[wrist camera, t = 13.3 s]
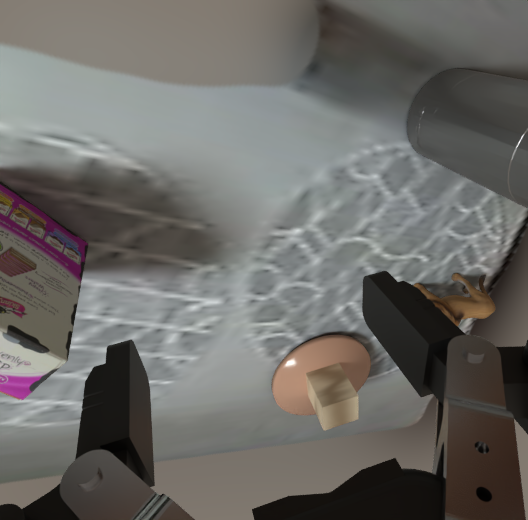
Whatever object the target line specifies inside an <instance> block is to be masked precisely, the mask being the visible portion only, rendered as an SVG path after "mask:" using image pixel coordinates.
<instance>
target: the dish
mask: <svg viewBox="0 0 528 520" xmlns="http://www.w3.org/2000/svg"><path fill="white" fill-rule="evenodd" d="M336 363H339V364H340V365H341V367H342V369H343V371H344V372H345V374H346V376H347V377H348V379H349V381H350V382H351V384H352V386H353V388H354V389H355V391H356V393H357V392H358V390H359V389H360V388H361V387H362V386H363V384H364V383H365V381H366V379H367V377H368V375H369V372H370V368H371V360H370V356H369V354H368V352H367V350H366V349H365V347H364V346H363V345H362V343H360V342H359V341H358V340H356V339H355V338H352V337H350V336H345V335H327V336H322V337H318V338H315V339H312V340H310V341H308V342H306V343H304V344H302V345H300V346H299V347H297V348H296V349H294V350H293V351H292V352H290V353H289V354H288V355H287V356H286V357H285V358H284V359H283V360H282V362H281V363H280V364H279V366H278V367H277V369H276V371H275V373H274V375H273V379H272V392H273V395H274V398H275V400H276V402H277V404H278V405H279V406H280V407H281V408H282V409H283V410H285V411H287V412H289V413H292V414H296V415H314V414H316V412H315V410H314V408H313V405H312V403H311V401H310V399H309V397H308V390H307V380H306V373H308V372H311V371H314V370H317V369H320V368H323V367H327V366H330V365H333V364H336Z"/></svg>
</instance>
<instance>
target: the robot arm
mask: <svg viewBox="0 0 528 520" xmlns="http://www.w3.org/2000/svg"><path fill="white" fill-rule="evenodd" d="M407 134H408V138H409V141H410V143H411V145H412V147H413V148H414V149H415V151H416V152H417V153H419V154H421V155H422V156H424V157H426V158H428V159H430V160H432V161H434V162H436V163H438V164H440V165H442V166H444V167H446V168H448V169H450V170H452V171H454V172H456V173H458V174H460V175H462V176H464V177H466V178H468V179H470V180H472V181H474V182H476V183H478V184H480V185H482V186H484V187H486V188H488V189H490V190H492V191H494V192H496V193H498V194H500V195H502V196H504V197H506V198H508V199H510V200H512V201H514V202H516V203H518V204H520V205H522V206H524V207H526V208H528V81H527V80H522V79H516V78H511V77H505V76H500V75H494V74H490V73H484V72H478V71H473V70H467V69H459V68H455V69H449V70H446V71H444V72H441V73H439V74H438V75H436V76H435V77H433V78H432V79H430V80H429V81H428V82H427V83H426V84H425V85H424V86H423V88H422V89H421V90H420V92H419V93H418V94H417V96H416V98H415V100H414V102H413V103H412V106H411V109H410V112H409V115H408V121H407ZM362 310H363V316H364V319H365V322H366V324H367V326H368V327H369V328H370V330H371V331H372V333H373V334H374V335H375V337H376V338H377V339H378V341H379V342H380V343H381V345H382V346H383V347H384V349H385V350H386V351H387V353H388V354H389V355H390V357H391V358H392V359H393V361H394V362H395V363H396V365H397V366H398V367H399V369H400V370H401V371H402V373H403V374H404V375H405V377H406V378H407V379H408V381H409V382H410V383H411V385H412V386H413V387H414V389H415V390H416V391H417V393H418V394H419V395H420V397H424V396H427V395H430V394H434V395H435V396H436V398H437V399H438V402H437V411H436V431H435V448H434V461H433V469H432V473H430V472H426V471H422V470H416V469H401V467H400V465H399V464H398V462H397V460H396V459H395V458H393V459H391V460H388V461H385V462H382V463H380V464H377V465H374V466H372V467H368V468H366V469H363V470H361V471H359V472H358V473H357V474H355V475H354V476H353V477H351V478H350V479H349V480H347V481H346V482H344V483H343V484H342V485H340V486H339V487H338V488H336V489H335V490H333V491H332V492H330V493H324V494H311V495H298V496H288V497H285V498H282V499H279V500H277V501H274V502H271V503H268V504H265V505H263V506H260V507H257V508H254V509H252V511H253V515H254V520H526V517H525V509H524V500H523V492H522V483H521V475H520V466H519V458H518V450H517V441H516V433H515V423H514V419H515V420H516V421H517V422H518V423H519V425H520V426H521V427H522V428H523V429H524V430H525V431H526V433H527V434H528V340H527V343H526V346H524V347H523V346H522V347H495V345H493V344H492V343H491V342H489V341H487V340H486V339H484V338H481V337H478V336H474V335H466V334H465V333H464V332H462V331H461V330H460V329H459V328H458V327H457V326H456V325H455V324H454V323H453V322H452V321H451V320H450V319H449V318H448V317H447V316H446V315H445V314H444V313H443V312H442V311H441V310H440V309H439V308H438V307H435V304H434V303H433V302H432V301H431V300H430V299H427V297H426V296H425V295H424V294H423V293H422V292H421V291H420V290H419V289H418V288H417V287H415V286H413V285H411V284H409V283H407V282H405V281H401V282H397V281H396V280H395V279H394V278H393V277H392V276H391V275H390V274H389V273H388V272H387V271H382V272H379V273H375V274H371V275H368V276H365V277H364V279H363V306H362ZM82 409H83V411H82V413H81V421H80V429H79V437H78V445H77V453H76V459H75V461H74V462H73V463H72V464H71V465H70V466H69V467H68V468H67V470H66V471H65V473H64V475H63V477H62V479H61V483H60V484H59V485H58V486H57V487H55V488H54V489H53V490H51V491H50V492H49V493H47V494H45V495H44V496H42V497H41V498H39V499H38V500H36V501H34V502H33V503H31V504H30V505H28V506H26V507H25V508H23V509H21V508H20V507H18V506H17V505H14V504H4V505H0V520H195V519H194V518H192V517H191V516H190V515H189V514H188V513H187V512H185V511H184V510H183V509H182V508H181V507H180V506H179V505H178V504H176V503H175V502H174V501H173V500H172V499H170V498H169V497H168V496H166V495H165V494H162V495H159V494H157V493H156V492H155V491H154V490H153V489H151V488H150V487H152V486H154V463H153V443H152V422H151V402H150V387H149V381H148V377H147V374H146V371H145V368H144V366H143V363H142V361H141V359H140V356H139V354H138V351H137V349H136V347H135V344H134V342H133V341H132V340H128V341H124V342H121V343H117V344H114V345H110V346H108V347H107V353H106V364H103V365H99V366H96V367H94V368H93V369H92V371H91V373H90V375H89V376H88V378H87V380H86V381H85V389H84V399H83V405H82Z"/></svg>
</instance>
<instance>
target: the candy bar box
mask: <svg viewBox="0 0 528 520" xmlns="http://www.w3.org/2000/svg"><path fill="white" fill-rule="evenodd" d="M87 248H88V244H87V243H86V242H85V241H84V240H82V239H81V238H79V237H78V236H76V235H75V234H74V233H72V232H71V231H69V230H68V229H66V228H65V227H63V226H62V225H60V224H59V223H58V222H56V221H55V220H53V219H52V218H50V217H49V216H48V215H46V214H45V213H43V212H42V211H40V210H39V209H38V208H36V207H35V206H33V205H32V204H31V203H29V202H28V201H26V200H25V199H24V198H22V197H21V196H19V195H18V194H16V193H15V192H14V191H12V190H11V189H9V188H8V187H7V186H5V185H4V184H2V183H1V182H0V392H1V393H4V394H6V395H9V396H11V397H14V398H16V399H19V400H23V399H25V398H26V397H27V396H28V395H29V394H30V393H32V392H33V391H34V390H35V389H36V388H37V387H38V386H39V385H40V384H41V383H42V382H43V381H44V380H46V379H47V378H48V377H49V376H50V375H51V374H53V373H54V372H55V371H57V369H59V368H60V367H61V366H62V365H63V364H64V363H66V362H67V360H68V355H69V349H70V344H71V337H72V332H73V326H74V320H75V315H76V308H77V304H78V298H79V292H80V288H81V280H82V275H83V269H84V264H85V258H86V254H87Z"/></svg>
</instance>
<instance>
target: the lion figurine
mask: <svg viewBox="0 0 528 520" xmlns="http://www.w3.org/2000/svg"><path fill="white" fill-rule="evenodd" d="M485 277H486V275H484V276H481V277H480V279H479V286H480V289H481V291H482V292H481V291H479V290H477V289H476V288H474V287H473V286H472V285H471V284H470V282H469V281H467V280H466V279H464V278H463V277H462V276H461V275H459V274H458V273H455V274H453V275H452V278H451V279H452V280H453V281H459V282H461V283H462V284H464V285H465V286H466V287H465V288H464V289H463V292H464V293H466V294H468V293H469V294H470V296H471V297H464V296H459V295H450V296H446V297H443V298H441V299H440V298H439V297H437V296H435V295H434V294H432V293H431V292H429V291H428V290H427V289H426V288H425V287H423V286H422V285H421V284H419V283H416V284H414V285H413V286H415V287H417V288H418V289H419V290H420V291H421V292H422V293H423V294H424V295H425V296H426V297H427V299H430V300H431V301H432V302H433V303H434V304H435V307H438V308H439V309H440V310H441V311H442V312H443V313H444V314H445V315H446V316H447V317H448V318H449V319H450V320H451V321H452V322H453V323H454V324H455V325H456V326H458V325H459V323H460V321H461V320H462V319H466V318H481V319H482V318H486V317H488V316H490V315H491V314H492V313H493V312H494V311H495V305H494V303H493V301H492V300H491V298H490V297H489V295H488V294H487V293H486V291H485V289H484V286H483V282H484V280H485Z"/></svg>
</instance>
